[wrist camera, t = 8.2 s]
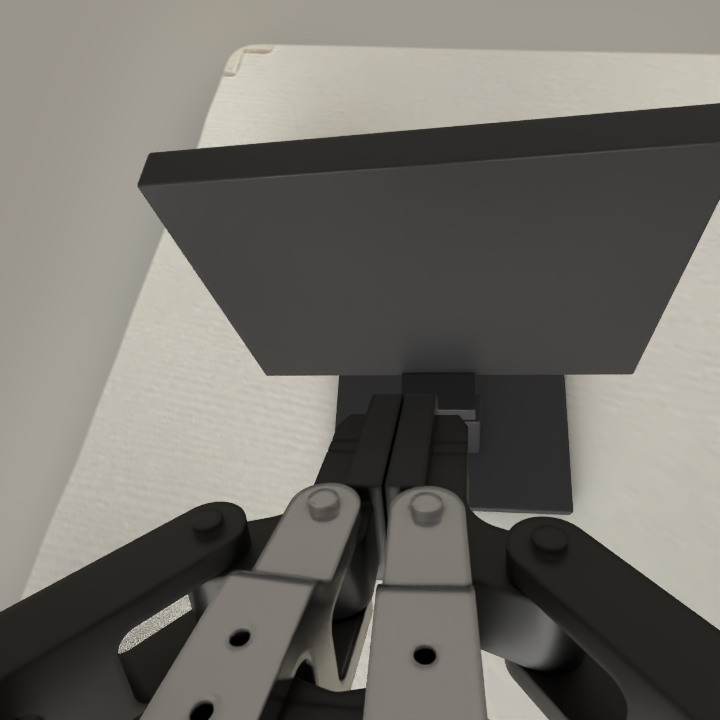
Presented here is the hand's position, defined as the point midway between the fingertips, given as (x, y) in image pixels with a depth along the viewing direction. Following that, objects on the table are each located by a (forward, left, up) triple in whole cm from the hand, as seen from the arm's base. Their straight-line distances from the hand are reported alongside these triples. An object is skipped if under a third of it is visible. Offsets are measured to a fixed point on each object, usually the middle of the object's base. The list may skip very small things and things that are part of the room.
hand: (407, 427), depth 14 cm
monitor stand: (-1, -6, -20) cm, 21 cm away
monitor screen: (-1, -5, -12) cm, 12 cm away
